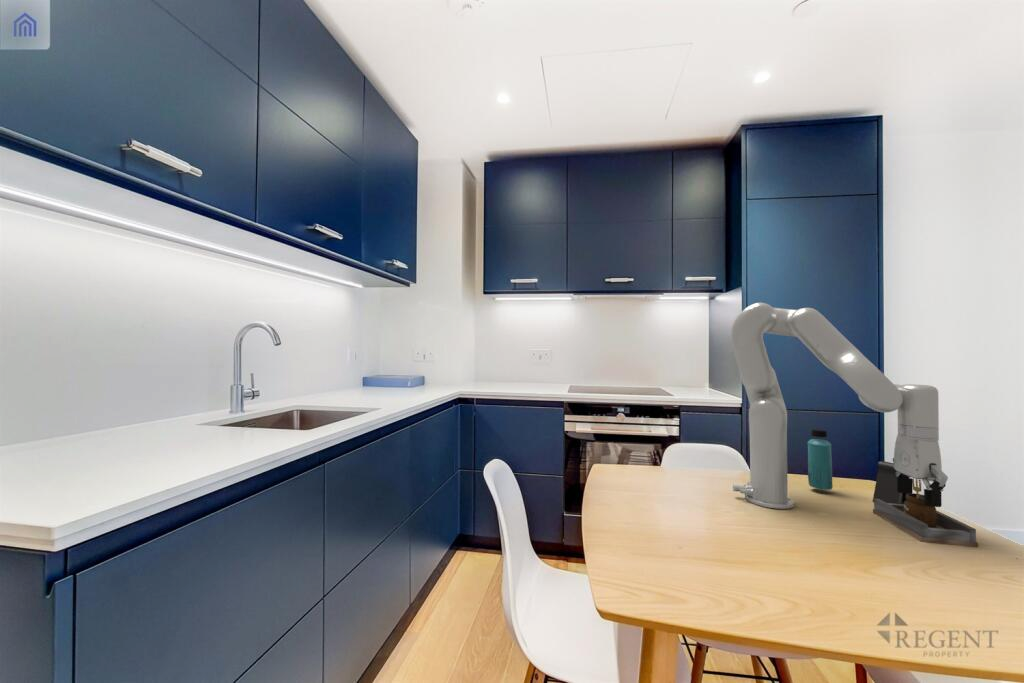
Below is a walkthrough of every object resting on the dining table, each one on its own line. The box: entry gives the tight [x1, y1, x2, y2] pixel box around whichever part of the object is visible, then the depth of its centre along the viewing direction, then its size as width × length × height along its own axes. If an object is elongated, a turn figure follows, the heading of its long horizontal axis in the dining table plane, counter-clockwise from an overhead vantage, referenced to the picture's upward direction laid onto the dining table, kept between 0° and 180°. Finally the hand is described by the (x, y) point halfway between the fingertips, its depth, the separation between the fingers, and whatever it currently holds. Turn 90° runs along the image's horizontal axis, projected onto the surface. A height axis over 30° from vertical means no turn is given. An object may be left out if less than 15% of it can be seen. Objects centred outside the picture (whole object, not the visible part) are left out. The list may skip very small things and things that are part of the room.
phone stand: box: [872, 460, 908, 504], centre depth 121 cm, size 9×6×12 cm, turn 111°
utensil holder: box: [904, 478, 937, 528], centre depth 104 cm, size 6×6×12 cm
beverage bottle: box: [807, 428, 834, 491], centre depth 132 cm, size 6×7×20 cm
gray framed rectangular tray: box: [872, 499, 979, 548], centre depth 104 cm, size 11×18×4 cm, turn 166°
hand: (918, 499), depth 104 cm, fingers open, 9 cm apart
